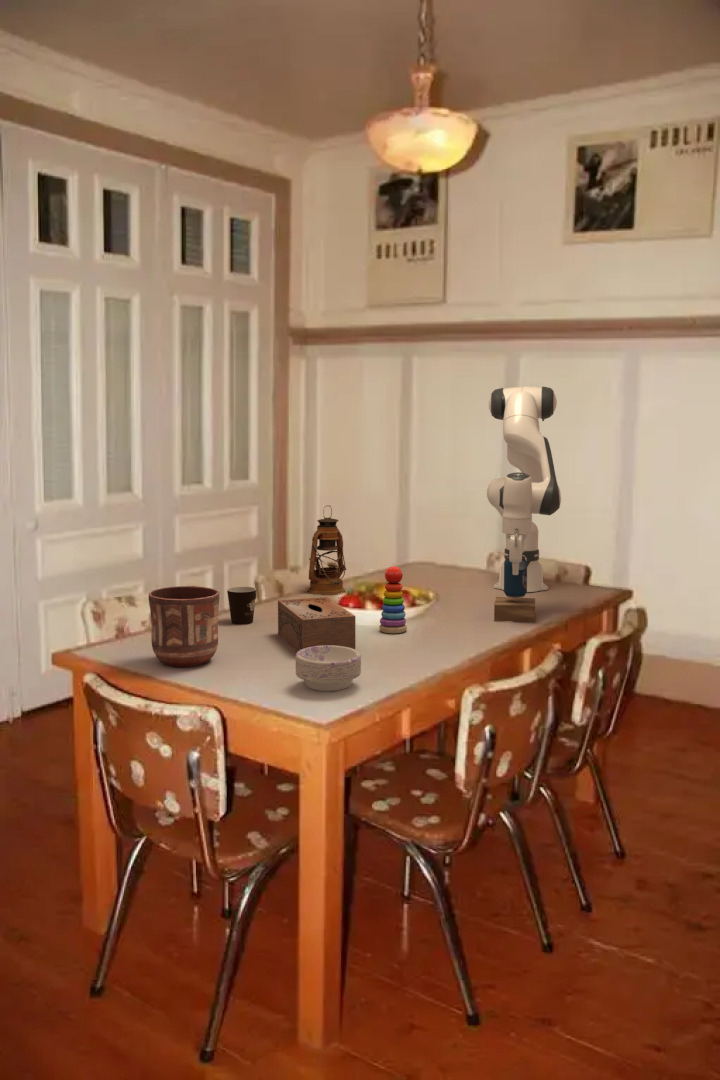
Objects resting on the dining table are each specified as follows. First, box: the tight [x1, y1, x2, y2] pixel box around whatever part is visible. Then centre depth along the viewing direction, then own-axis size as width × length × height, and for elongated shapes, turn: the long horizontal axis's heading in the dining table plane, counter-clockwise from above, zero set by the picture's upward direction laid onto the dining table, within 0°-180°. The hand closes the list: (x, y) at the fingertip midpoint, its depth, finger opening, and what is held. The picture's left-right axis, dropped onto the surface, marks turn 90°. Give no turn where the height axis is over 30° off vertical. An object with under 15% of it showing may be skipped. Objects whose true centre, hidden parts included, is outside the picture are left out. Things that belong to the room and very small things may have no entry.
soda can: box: [503, 556, 528, 598], centre depth 296 cm, size 7×7×12 cm
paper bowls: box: [294, 645, 362, 692], centre depth 227 cm, size 15×15×8 cm
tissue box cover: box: [277, 596, 356, 653], centre depth 267 cm, size 26×14×10 cm, turn 19°
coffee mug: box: [226, 586, 257, 626], centre depth 292 cm, size 12×9×10 cm
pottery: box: [148, 585, 220, 668], centre depth 247 cm, size 18×18×18 cm
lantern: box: [307, 505, 347, 596], centre depth 336 cm, size 17×13×30 cm
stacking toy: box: [378, 566, 408, 635], centre depth 279 cm, size 8×8×19 cm
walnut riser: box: [493, 596, 536, 624], centre depth 298 cm, size 12×12×5 cm
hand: (515, 572), depth 296 cm, fingers closed on soda can, 7 cm apart
